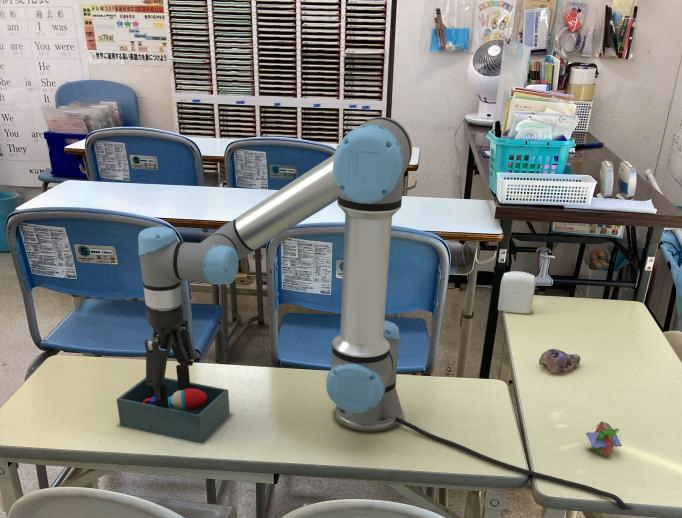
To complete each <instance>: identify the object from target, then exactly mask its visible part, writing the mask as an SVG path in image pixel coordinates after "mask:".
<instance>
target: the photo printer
mask: <svg viewBox="0 0 682 518" xmlns="http://www.w3.org/2000/svg"><path fill="white" fill-rule="evenodd" d="M501 277H502V278H501V281H500V288H499V295H498V304H497V310H498V311H499V312H505V313H515V314H516V313H517V314H526V315H527V314H531V313H532V309H533V302H534V296H535V288H536V277H535V275H534V274H531V273H529V272H525V271H519V270H518V271H516V270H515V271H507V272H504V273H503V275H502V276H501Z"/></svg>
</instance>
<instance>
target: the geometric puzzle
mask: <svg viewBox="0 0 682 518" xmlns="http://www.w3.org/2000/svg"><path fill="white" fill-rule="evenodd" d="M593 429H594V427H592V428H591V430H593ZM619 431H620V428H614V427H613V426H612V425H611V424H609V423H608V422H605V421H603V420H602V421H600V422H599V423H597V424H596V425H595V431H594V432H592V431H591V432H590V430H589V431H587V432H585V435H586V437H587V441H589V442H590V446H589V449H588V450H589V451H592V452H594V453H597V452H598V450H602V452H603V454H602V453H601V452H599V455H602V457H605V458H606V459H607V458H608V457H609V455H611V454H613V452H612V453H611V451H612V450H613V448H617V447H618V448H621V447H622V446H623V444H622V442H621V438H622V437H618V433H619V435H621V434H620V432H619ZM619 438H620V439H619ZM595 451H596V452H595ZM615 451H617V449H615V450H614V452H615Z"/></svg>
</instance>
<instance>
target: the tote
mask: <svg viewBox="0 0 682 518" xmlns="http://www.w3.org/2000/svg"><path fill="white" fill-rule="evenodd" d="M164 384H166V386H167V395H168V397H170V396H172V395H173V394H174V393H175V392H176V391H179V390H178V380H177V379H174V378H170V377H165V378H164ZM190 388H191V389H198V390H201V391H203V392H204V393H205V394H206V395H207V401H206V403H205V404H204V405H203V406H201V407H199V408H197V409H195V410H190V411H188V410H185V409H184V410H178V409H176V408H174V407H173V406H171V407H169V408H165V407H160V406H155V405H150V402H149V403H148V404H145V403H143V401H144V400H145V399H147V398H152V397H155V396H154V388H153V387H152V386H147V385H146V376H145V377H143V378H142V379H141V380H140V381H138V382H137V383H136V384H135V385H133V386H132V387H130V388H129V389H128V390H127V391H125V392H124V393H123V394H121V395H120V396H119V397H118V398H116V405H117V413H118V418H119V426H121V427H127V428H131V429H135V430H140V431H145V432H148V433H154V434H158V435H163V436H168V437H172V438H177V439H182V440H186V441H191V442H195V443H200V444H202V443H204V441H205V440H207V438H208V437H210V435H212V434H213V433H214V432H215V430H217V428H219V427H220V426H221V425H222V423H224V422H225V421H226V420H227V418H229V417H230V416H231V414H230V412H231V411H230V397H229V389H227V388H221V387H216V386H211V385H206V384H201V383H196V382H192V381H190Z"/></svg>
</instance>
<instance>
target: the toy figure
mask: <svg viewBox="0 0 682 518" xmlns="http://www.w3.org/2000/svg"><path fill="white" fill-rule="evenodd" d="M206 401H207V395H206V394H205V393H204V392H203V391H201V390H198V389H191V388H190V389H185V390H179V391H176V392H175V393H174V394H173V395H172V396H170V397H168V404H169V407H171V406H173V407H174V408H176V409H178V410H184V409H185V410H188V411H190V410H195V409H197V408H199V407H201V406H203V405H204V404H205V403H206ZM149 402H150V405H155V406H156V401H155V397H152V398H147V399H145V400H144V401H143V403H145V404H148V403H149Z"/></svg>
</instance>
